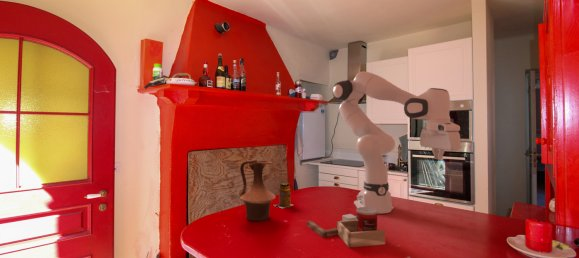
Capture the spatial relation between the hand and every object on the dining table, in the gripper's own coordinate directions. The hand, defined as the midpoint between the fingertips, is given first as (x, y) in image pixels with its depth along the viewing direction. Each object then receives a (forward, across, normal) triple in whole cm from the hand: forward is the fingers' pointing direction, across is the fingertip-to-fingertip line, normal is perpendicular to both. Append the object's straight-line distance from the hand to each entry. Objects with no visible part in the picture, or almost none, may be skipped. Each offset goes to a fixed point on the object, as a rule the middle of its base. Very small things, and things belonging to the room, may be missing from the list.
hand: (438, 159), depth 117 cm
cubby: (+29, +4, -37) cm, 47 cm away
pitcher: (+29, -28, -75) cm, 85 cm away
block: (+29, -9, -36) cm, 47 cm away
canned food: (+29, +4, -34) cm, 45 cm away
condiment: (+30, -45, -60) cm, 81 cm away
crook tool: (+29, -7, -49) cm, 58 cm away
